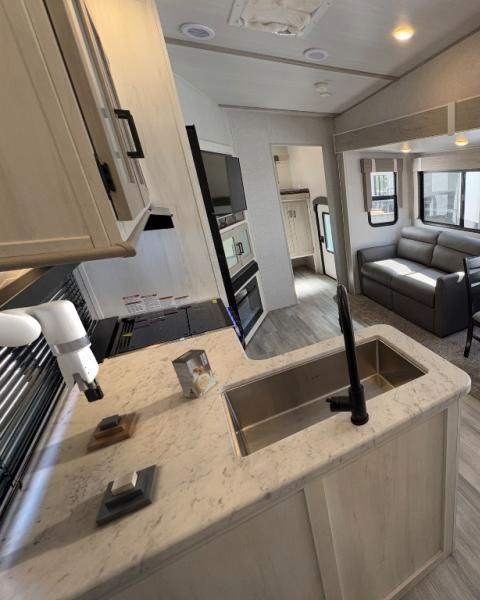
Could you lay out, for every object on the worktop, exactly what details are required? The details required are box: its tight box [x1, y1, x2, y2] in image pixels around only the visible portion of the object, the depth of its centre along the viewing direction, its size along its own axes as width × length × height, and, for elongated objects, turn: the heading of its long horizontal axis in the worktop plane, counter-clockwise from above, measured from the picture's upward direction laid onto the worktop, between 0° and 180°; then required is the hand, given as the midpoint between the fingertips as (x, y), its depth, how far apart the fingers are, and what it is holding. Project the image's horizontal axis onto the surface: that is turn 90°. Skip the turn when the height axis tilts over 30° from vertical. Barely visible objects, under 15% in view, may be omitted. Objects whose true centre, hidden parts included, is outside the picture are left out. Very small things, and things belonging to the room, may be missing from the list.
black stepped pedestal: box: [95, 463, 159, 527], centre depth 77 cm, size 10×12×4 cm
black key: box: [99, 413, 120, 431], centre depth 98 cm, size 4×4×2 cm
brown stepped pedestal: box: [86, 411, 138, 453], centre depth 99 cm, size 10×12×4 cm
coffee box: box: [171, 348, 217, 398], centre depth 116 cm, size 9×6×16 cm
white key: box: [111, 470, 138, 496], centre depth 76 cm, size 4×4×2 cm
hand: (96, 399), depth 91 cm, fingers closed
